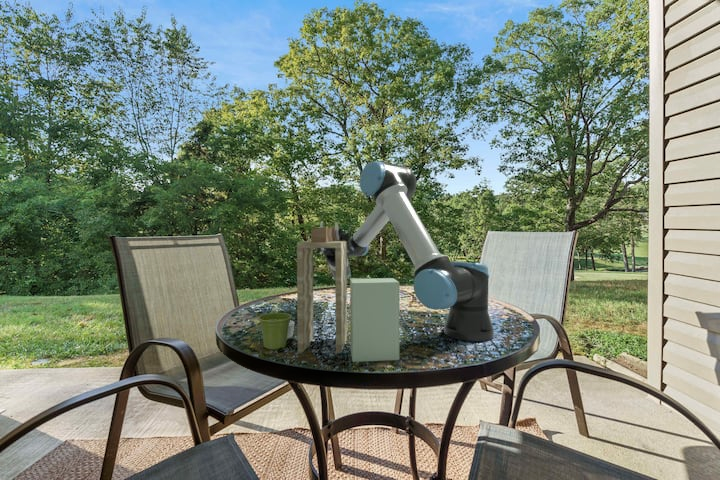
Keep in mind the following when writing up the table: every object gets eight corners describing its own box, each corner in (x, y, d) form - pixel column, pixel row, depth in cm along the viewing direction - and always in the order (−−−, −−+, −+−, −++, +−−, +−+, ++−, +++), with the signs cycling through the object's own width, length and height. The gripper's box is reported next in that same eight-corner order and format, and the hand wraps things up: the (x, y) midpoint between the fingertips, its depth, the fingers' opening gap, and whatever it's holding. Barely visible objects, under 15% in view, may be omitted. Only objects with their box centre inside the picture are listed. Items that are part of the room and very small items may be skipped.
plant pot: (294, 341, 107) (294, 312, 106) (289, 351, 97) (288, 320, 97) (262, 341, 106) (262, 312, 106) (254, 352, 97) (254, 320, 97)
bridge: (308, 336, 111) (308, 241, 110) (346, 337, 110) (346, 241, 109) (297, 352, 97) (297, 242, 96) (341, 353, 96) (340, 242, 95)
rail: (326, 240, 120) (326, 228, 120) (338, 240, 119) (338, 228, 119) (311, 242, 96) (311, 227, 96) (326, 242, 95) (326, 227, 95)
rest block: (393, 349, 99) (393, 278, 98) (399, 359, 91) (399, 282, 90) (350, 351, 98) (350, 278, 97) (352, 361, 90) (352, 283, 89)
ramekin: (300, 336, 111) (299, 323, 111) (274, 342, 105) (274, 328, 105) (285, 331, 118) (285, 318, 118) (260, 336, 112) (260, 322, 112)
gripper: (359, 267, 130) (355, 236, 109) (313, 267, 131) (300, 236, 111) (360, 249, 133) (356, 215, 113) (315, 249, 135) (303, 216, 114)
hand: (328, 226), depth 112 cm, fingers closed on rail, 4 cm apart
